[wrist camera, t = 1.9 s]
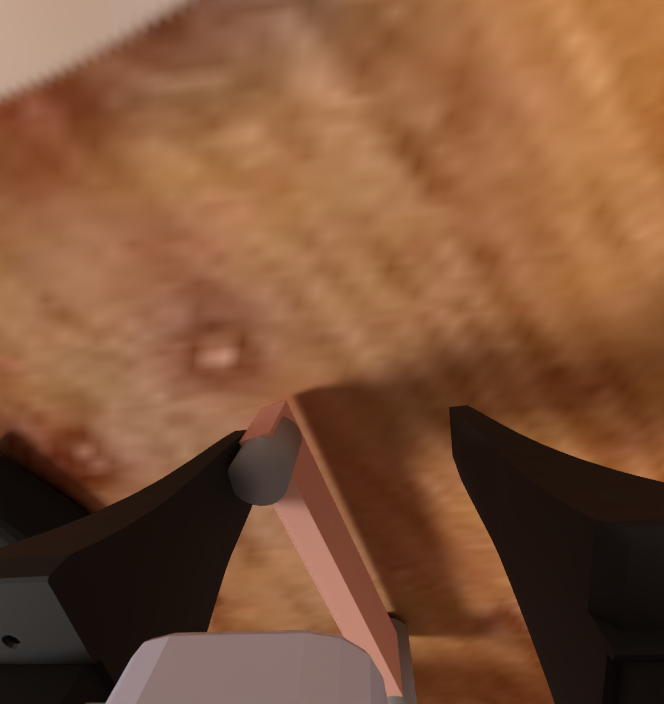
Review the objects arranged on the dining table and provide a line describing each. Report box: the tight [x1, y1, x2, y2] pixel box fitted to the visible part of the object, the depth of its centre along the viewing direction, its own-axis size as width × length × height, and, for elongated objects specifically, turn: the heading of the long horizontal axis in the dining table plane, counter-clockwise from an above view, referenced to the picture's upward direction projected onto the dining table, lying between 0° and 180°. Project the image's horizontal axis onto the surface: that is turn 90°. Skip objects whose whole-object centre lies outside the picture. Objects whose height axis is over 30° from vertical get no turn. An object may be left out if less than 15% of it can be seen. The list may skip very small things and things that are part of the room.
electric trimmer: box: [0, 456, 86, 547], centre depth 17 cm, size 4×16×3 cm, turn 40°
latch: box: [228, 400, 417, 704], centre depth 14 cm, size 16×2×4 cm, turn 22°
